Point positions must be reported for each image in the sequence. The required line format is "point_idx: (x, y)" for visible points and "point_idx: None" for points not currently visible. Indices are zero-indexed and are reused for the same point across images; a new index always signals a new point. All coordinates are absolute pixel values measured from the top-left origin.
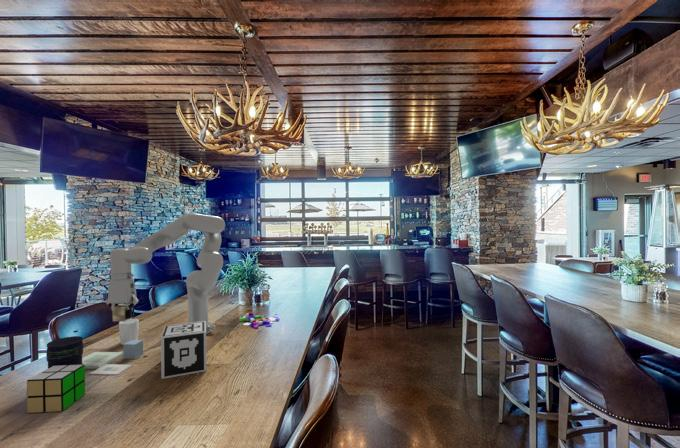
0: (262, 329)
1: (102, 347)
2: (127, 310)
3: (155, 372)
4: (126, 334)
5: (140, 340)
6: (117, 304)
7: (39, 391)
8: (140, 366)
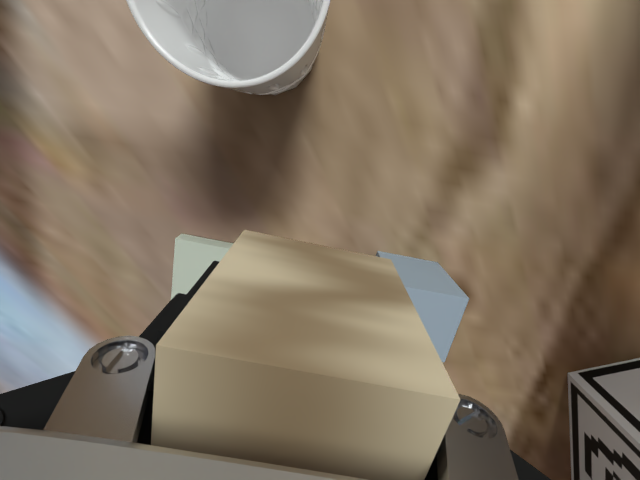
0: None
1: (142, 118)
2: None
3: (543, 443)
4: (267, 92)
5: (455, 303)
6: (120, 438)
7: None
8: (471, 392)
